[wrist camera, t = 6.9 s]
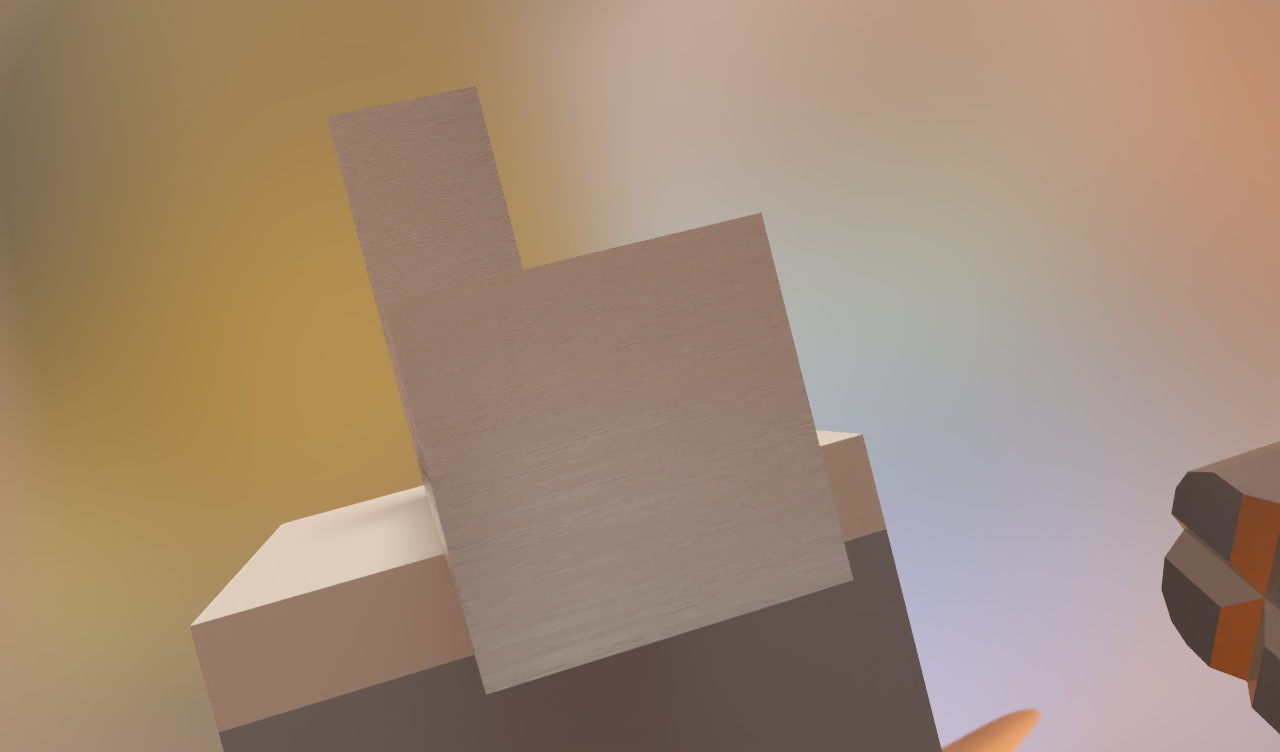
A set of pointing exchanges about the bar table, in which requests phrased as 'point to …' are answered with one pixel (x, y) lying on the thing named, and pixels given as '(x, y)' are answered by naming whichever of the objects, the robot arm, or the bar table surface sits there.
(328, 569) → the stand
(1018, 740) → the bar table surface
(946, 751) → the bar table surface
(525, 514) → the block
